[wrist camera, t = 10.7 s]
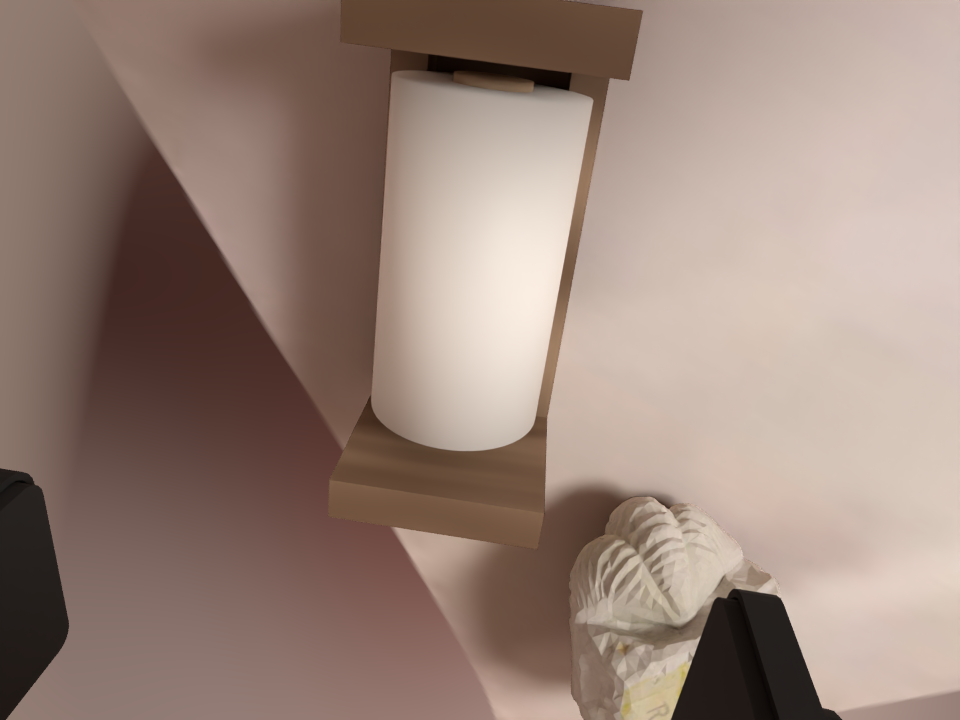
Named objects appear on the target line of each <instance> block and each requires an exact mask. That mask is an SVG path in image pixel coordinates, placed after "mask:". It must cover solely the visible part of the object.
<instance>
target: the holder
mask: <svg viewBox="0 0 960 720" xmlns="http://www.w3.org/2000/svg"><path fill="white" fill-rule="evenodd" d="M642 13H643V11H641V10H633V9H626V8H618V7H610V6H602V5H594V4H587V3H579V2H571V1H563V0H341V36H340V42H342V43H350V44H357V45H365V46H372V47H380V48H387V49H391V66H390V84H389V102H388V120H387V139H386V157H385V174H386V158H387V142H388V126H389V111H390V95H391V79H392V73H393V72H395V71H405V70H418V71H438V72H450V73H454V71H476V72H485V73H493V74H501V75H507V76H513V77H518V78H523V79H527V80H531V81H533V82H534V84H539V85H545V86H550V87H555V88H559V89H564V90H568V91H572V92H576V93H579V94H583V95H585V96H588V97H590V98H592V99H593V106H592V111H591V116H590V122H589V127H588V133H587V138H586V144H585V149H584V155H583V160H582V166H581V171H580V177H579V182H578V188H577V193H576V199H575V204H574V210H573V215H572V220H571V226H570V231H569V237H568V242H567V248H566V253H565V259H564V264H563V270H562V275H561V281H560V286H559V292H558V297H557V303H556V308H555V314H554V319H553V325H552V330H551V335H550V341H549V346H548V352H547V357H546V363H545V368H544V374H543V379H542V385H541V390H540V396H539V401H538V407H537V412H536V418H535V422H534V425H533V427H532V428H531V430H530V431H529V432H528V433H527V434H526V435H525V436H524V437H522V438H521V439H519V440H517V441H515V442H514V443H511V444H509V445H506V446H503V447H499V448H495V449H489V450H481V451H454V450H445V449H439V448H434V447H429V446H425V445H422V444H419V443H416V442H413V441H411V440H408V439H406V438H403V437H402V436H400V435H398V434H396V433H394V432H393V431H391V430H390V429H388V428H387V427H386V426H385V425H384V424H382V423H381V422H380V420H379V419H378V418H377V417H376V415H375V413H374V412H373V409H372V405H371V396H370V398H369V400H368V402H367V404H366V406H365V408H364V410H363V412H362V414H361V416H360V418H359V420H358V422H357V424H356V426H355V428H354V430H353V433H352V435H351V437H350V439H349V441H348V443H347V445H346V447H345V449H344V451H343V453H342V455H341V457H340V459H339V461H338V463H337V465H336V468H335V469H334V471H333V473H332V475H331V477H330V480H329V512H328V515H329V517H335V518H341V519H347V520H354V521H360V522H366V523H372V524H379V525H385V526H391V527H398V528H404V529H410V530H417V531H423V532H429V533H436V534H442V535H448V536H455V537H461V538H467V539H474V540H480V541H486V542H493V543H499V544H505V545H512V546H518V547H524V548H531V549H538V544H539V538H540V533H541V528H542V523H543V518H544V510H545V474H546V438H547V415H548V410H549V405H550V399H551V394H552V388H553V383H554V377H555V372H556V367H557V361H558V356H559V350H560V345H561V339H562V334H563V329H564V323H565V318H566V312H567V307H568V301H569V296H570V291H571V285H572V280H573V274H574V269H575V263H576V258H577V252H578V247H579V242H580V236H581V231H582V225H583V220H584V214H585V209H586V204H587V198H588V193H589V187H590V182H591V176H592V171H593V166H594V160H595V155H596V149H597V144H598V138H599V133H600V128H601V122H602V117H603V111H604V106H605V100H606V95H607V90H608V84H609V79H610V78H614V79H621V80H629V79H630V74H631V69H632V64H633V59H634V54H635V49H636V44H637V38H638V33H639V28H640V23H641V18H642ZM384 189H385V175H384ZM383 205H384V193H383ZM382 221H383V211H382ZM381 237H382V230H381ZM380 253H381V248H380ZM379 268H380V266H379Z"/></svg>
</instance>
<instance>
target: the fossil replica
mask: <svg viewBox="0 0 960 720" xmlns="http://www.w3.org/2000/svg"><path fill="white" fill-rule="evenodd" d="M570 580H571V581H570V582H569V589H570V591H571V595H570V597H569V599H568V601H569V605H570V609H571V617H570V619H569V627H570V633H571V650H572V660H571V663H572V678H571V694H572V697H573V699H574V700H575V701H576V702H577V704H578V706H579V709H580V713H581V716H582V718H583V719H584V720H671V718H672V715H673V712H674V709H675V707H676V704H677V701H678V698H679V696H680V693H681V690H682V687H683V685H684V682H685V679H686V676H687V673H688V671H689V668H690V665H691V662H692V660H693V657H694V654H695V651H696V649H697V646H698V643H699V640H700V638H701V635H702V632H703V629H704V626H705V624H706V621H707V618H708V615H709V613H710V610H711V607H712V604H713V602H714V600H715V599H716V598H717V597H722V598H727V596H728V594H729V592H730V591H731V590H732V589H742V590H748V591H754V592H760V593H766V594H773V595H777V596H778V597H779V598H781V596H780V589H779V583H778V582H777V580H776V579H775V578H774V577H773V576H771V575H770V574H768V573H765V572H763V570H762V569H761V568H760V567H759V566H758V565H756V564H754V563H753V562H751V561H749V560H746V559H744V558H743V554H742V549H741V548H740V546H739V545H738V543H737V542H736V541H735V540H734V539H733V538H732V537H731V536H730V535H728V534H727V533H726V532H725V531H724V530H723V529H722V528H721V527H720V526H719V525H718V524H716V523H715V522H714V520H713V519H712V518H711V517H710V516H709V515H708V514H707V513H705V512H704V511H703V510H701V509H700V508H699V507H697V506H696V505H692V504H689V503H685V504H676V505H673V506H672V507H671V508H670V509H667V508H666V507H665V506H664V505H661V504H660V503H659V502H658V501H657V500H656V499H655V498H652V497H632V498H630V499H628V500H626V501H625V502H623V503H622V504H621V505H619V506H618V507H617V508H616V509H615V510H614V511H613V512H612V513H611V515H610V517H609V522H608V523H607V524H606V528H605V534H604V535H603V536H601V537H598V538H596V539H594V540H593V541H591V542H589V543H588V544H587V545H585V546H584V548H583V549H582V550H581V552H580V553H579V555H578V557H577V559H576V561H575V564H574V566H573V568H572V570H571V573H570Z"/></svg>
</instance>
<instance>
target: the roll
mask: <svg viewBox="0 0 960 720" xmlns="http://www.w3.org/2000/svg"><path fill="white" fill-rule="evenodd" d="M592 106H593V99H592V98H590V97H588V96H585V95H583V94H579V93H576V92H572V91H568V90H564V89H559V88H555V87H550V86H545V85H539V84H534V82H533V81H531V80H527V79H523V78H518V77H513V76H507V75H501V74H493V73H485V72H476V71H454V73H450V72H438V71H418V70H405V71H395V72H393V73H392V79H391V95H390V111H389V126H388V142H387V158H386V174H385V189H384V205H383V221H382V237H381V253H380V268H379V284H378V300H377V316H376V331H375V347H374V363H373V379H372V394H371V405H372V409H373V412H374V413H375V415H376V417H377V418H378V419H379V420H380V422H381V423H382V424H384V425H385V426H386V427H387V428H388V429H390V430H391V431H393V432H394V433H396V434H398V435H400V436H402V437H403V438H406V439H408V440H411V441H413V442H416V443H419V444H422V445H425V446H429V447H434V448H439V449H445V450H454V451H481V450H489V449H495V448H499V447H503V446H506V445H509V444H511V443H514V442H515V441H517V440H519V439H521V438H522V437H524V436H525V435H526V434H527V433H528V432H529V431H530V430H531V428H532V427H533V425H534V422H535V418H536V412H537V407H538V401H539V396H540V390H541V385H542V379H543V374H544V368H545V363H546V357H547V352H548V346H549V341H550V335H551V330H552V325H553V319H554V314H555V308H556V303H557V297H558V292H559V286H560V281H561V275H562V270H563V264H564V259H565V253H566V248H567V242H568V237H569V231H570V226H571V220H572V215H573V210H574V204H575V199H576V193H577V188H578V182H579V177H580V171H581V166H582V160H583V155H584V149H585V144H586V138H587V133H588V127H589V122H590V116H591V111H592Z"/></svg>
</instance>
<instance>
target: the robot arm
mask: <svg viewBox="0 0 960 720" xmlns="http://www.w3.org/2000/svg"><path fill="white" fill-rule="evenodd" d="M68 629H69V621H68V616H67V611H66V606H65V601H64V596H63V591H62V586H61V581H60V576H59V571H58V565H57V560H56V555H55V550H54V546H53V540H52V535H51V531H50V525H49V520H48V515H47V510H46V506H45V500H44V495H43V492H42V489H41V488H40V487H39V486H36V485H35V484H34V481H33V479H32V477H31V476H30V475H29V474H27V473H24V472H19V471H12V470H6V469H0V720H6V719H7V717H8V716H9V715H10V714H11V712H12V711H13V710H14V709H15V707H16V706H17V705H18V703H19V702H20V701H21V700H22V698H23V697H24V696H25V694H26V693H27V692H28V690H29V689H30V688H31V687H32V686H33V684H34V683H35V682H36V680H37V679H38V678H39V676H40V675H41V674H42V673H43V671H44V670H45V669H46V668H47V666H48V665H49V664H50V663H51V661H52V660H53V659H54V657H55V656H56V655H57V654H58V652H59V651H60V649H61V648H62V646H63V644H64V642H65V640H66V637H67V634H68ZM671 720H842V719H841V718H840V717H839V716H838V715H837V714H836V713H835V712H834V711H832V710H829V709H824V708H822V706H821V704H820V701H819V698H818V695H817V693H816V690H815V687H814V685H813V682H812V679H811V677H810V674H809V671H808V669H807V666H806V663H805V660H804V658H803V655H802V652H801V650H800V647H799V644H798V642H797V639H796V636H795V634H794V631H793V628H792V626H791V623H790V620H789V617H788V615H787V612H786V609H785V607H784V604H783V602H782V600H781V598H779V597H778V596H777V595H773V594H766V593H760V592H754V591H748V590H742V589H732V590H731V591H730V592H729V594H728V596H727V598H722V597H717V598H716V599H715V600H714V602H713V604H712V607H711V610H710V613H709V615H708V618H707V621H706V624H705V626H704V629H703V632H702V635H701V638H700V640H699V643H698V646H697V649H696V651H695V654H694V657H693V660H692V662H691V665H690V668H689V671H688V673H687V676H686V679H685V682H684V685H683V687H682V690H681V693H680V696H679V698H678V701H677V704H676V707H675V709H674V712H673V715H672V718H671Z"/></svg>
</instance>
